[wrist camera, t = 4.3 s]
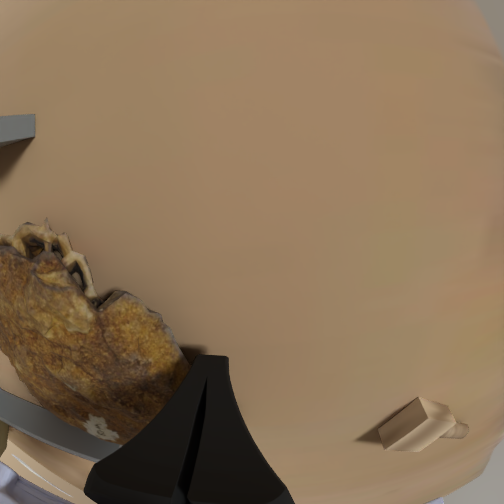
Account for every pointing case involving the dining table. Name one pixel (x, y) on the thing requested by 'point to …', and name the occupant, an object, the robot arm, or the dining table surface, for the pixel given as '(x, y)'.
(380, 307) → the dining table surface
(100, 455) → the grey bracket
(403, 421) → the wooden mallet
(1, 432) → the squeeze bottle
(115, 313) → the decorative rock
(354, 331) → the dining table surface
